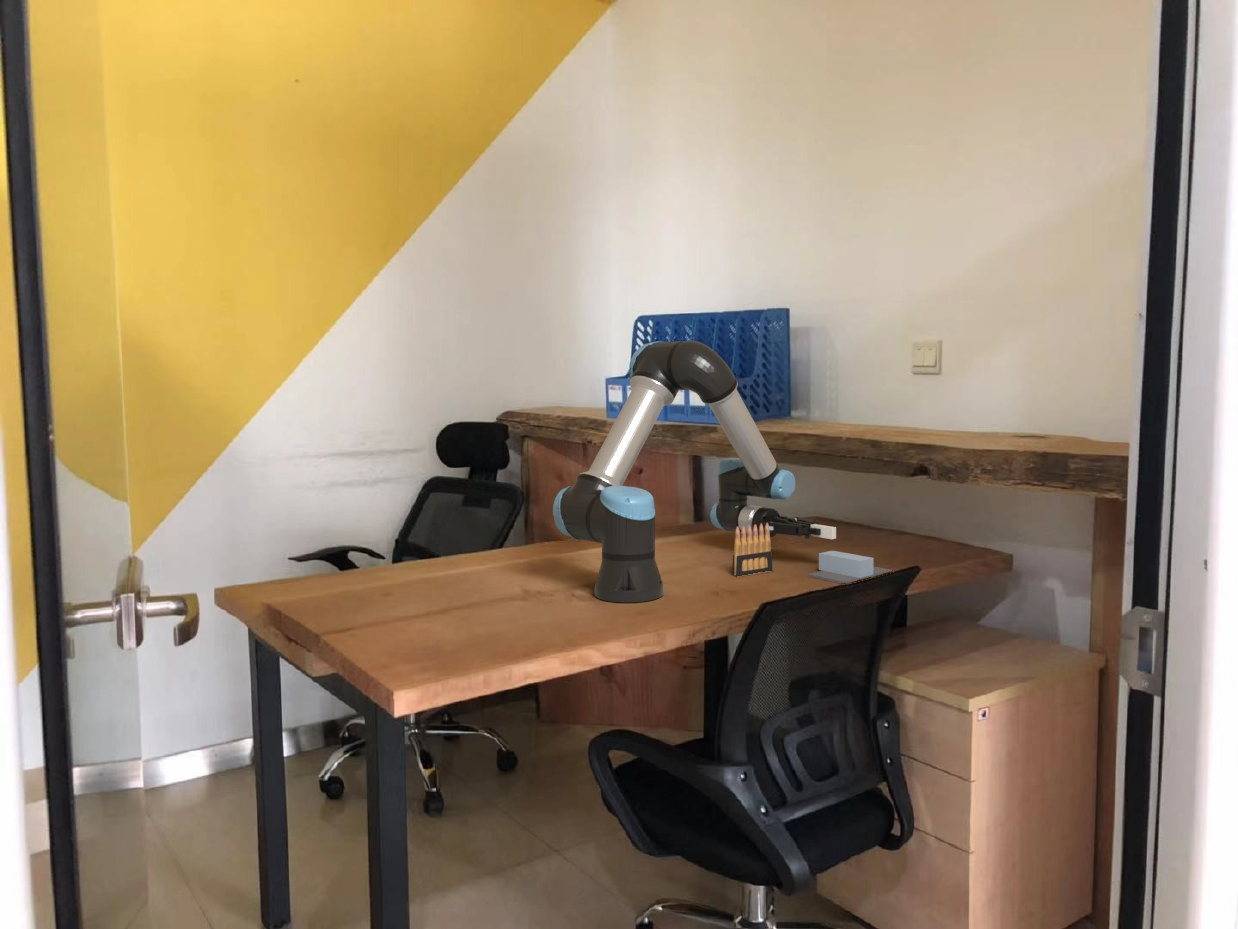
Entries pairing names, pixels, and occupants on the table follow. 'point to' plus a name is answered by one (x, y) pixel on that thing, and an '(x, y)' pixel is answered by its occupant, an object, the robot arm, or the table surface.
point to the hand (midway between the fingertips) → (833, 533)
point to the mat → (844, 578)
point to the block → (846, 564)
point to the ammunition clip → (752, 551)
